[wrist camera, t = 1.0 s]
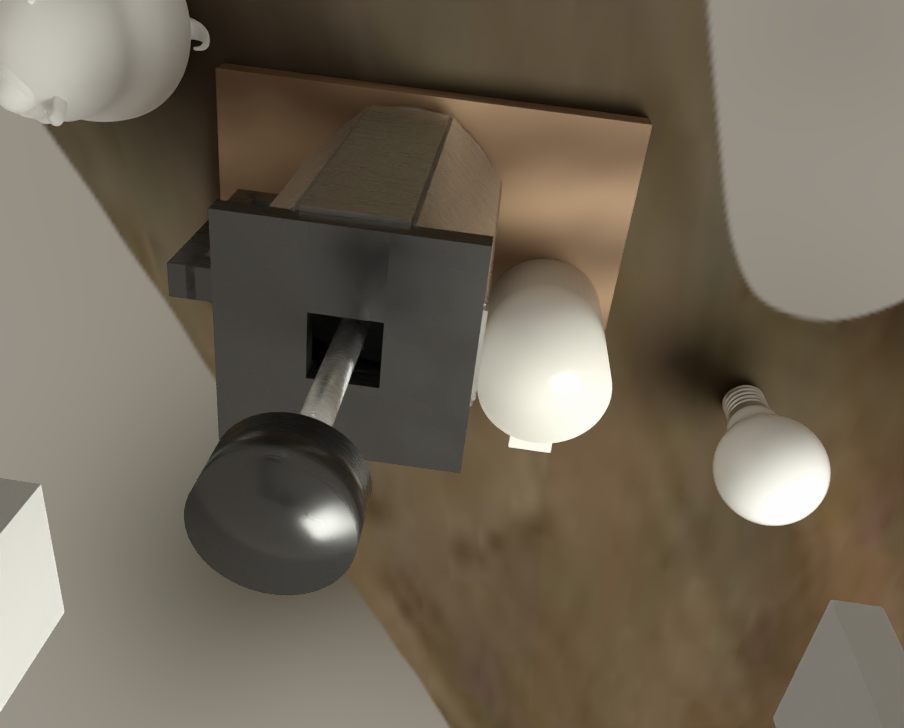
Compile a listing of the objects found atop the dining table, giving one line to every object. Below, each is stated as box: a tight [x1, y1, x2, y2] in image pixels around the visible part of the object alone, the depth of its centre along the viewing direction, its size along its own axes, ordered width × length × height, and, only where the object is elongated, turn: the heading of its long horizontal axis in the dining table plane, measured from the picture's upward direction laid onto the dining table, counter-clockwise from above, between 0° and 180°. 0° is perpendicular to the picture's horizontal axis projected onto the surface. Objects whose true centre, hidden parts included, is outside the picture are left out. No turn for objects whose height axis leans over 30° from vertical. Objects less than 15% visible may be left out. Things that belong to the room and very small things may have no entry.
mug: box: [477, 259, 612, 453], centre depth 47 cm, size 9×7×9 cm
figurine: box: [0, 0, 210, 126], centre depth 40 cm, size 10×10×12 cm
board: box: [215, 63, 652, 333], centre depth 50 cm, size 16×24×2 cm, turn 84°
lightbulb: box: [712, 385, 831, 526], centre depth 50 cm, size 6×6×11 cm
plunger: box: [184, 313, 384, 595], centre depth 31 cm, size 8×8×18 cm
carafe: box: [167, 104, 502, 473], centre depth 40 cm, size 11×14×18 cm
